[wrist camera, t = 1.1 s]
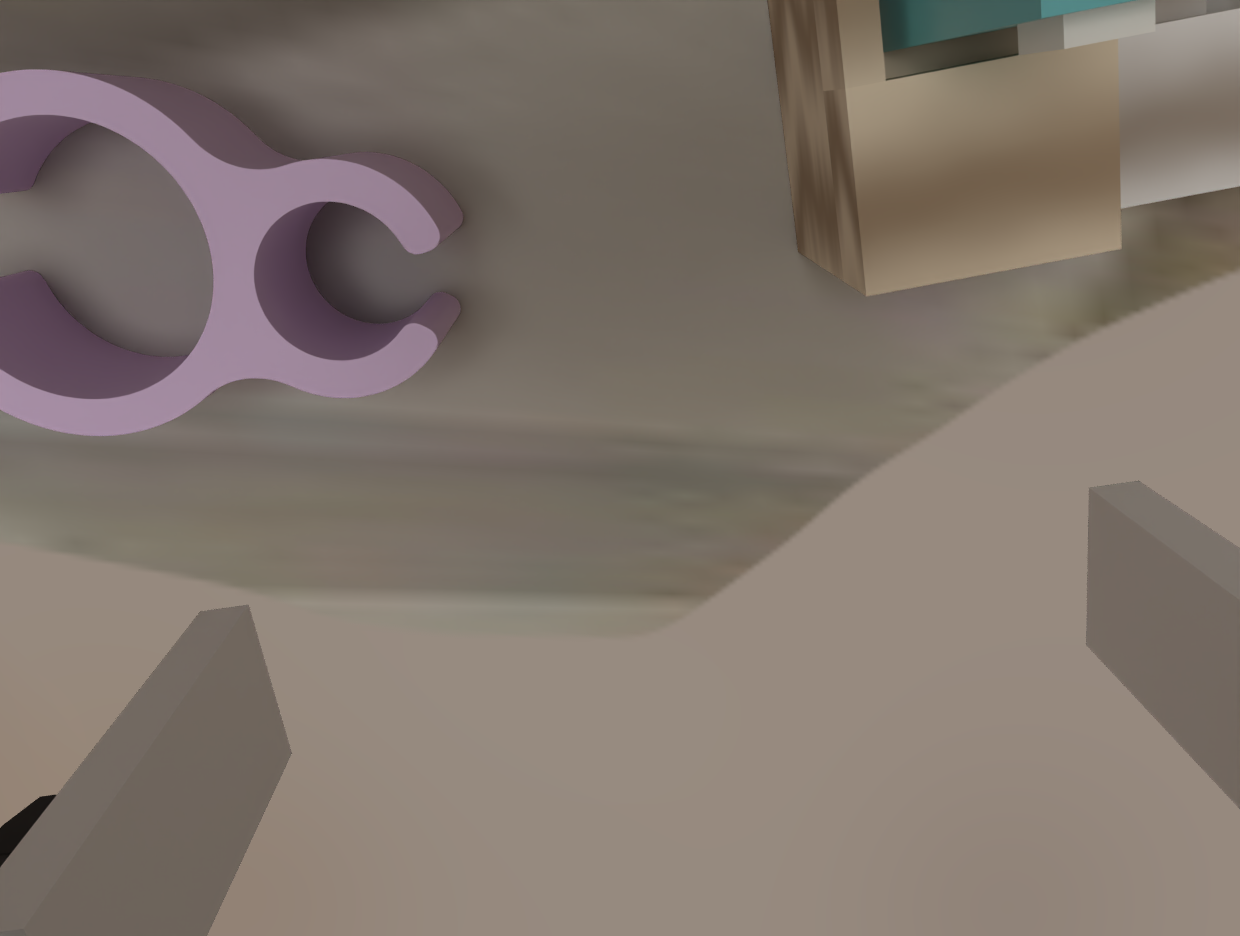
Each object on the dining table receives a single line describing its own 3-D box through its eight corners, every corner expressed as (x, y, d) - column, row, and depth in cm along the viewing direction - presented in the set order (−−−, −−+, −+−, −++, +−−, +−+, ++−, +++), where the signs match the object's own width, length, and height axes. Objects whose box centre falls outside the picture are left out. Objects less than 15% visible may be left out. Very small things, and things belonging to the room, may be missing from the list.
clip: (466, 104, 40) (442, 103, 33) (458, 407, 44) (435, 458, 38) (-55, 61, 39) (-184, 50, 32) (-14, 375, 43) (-122, 421, 36)
